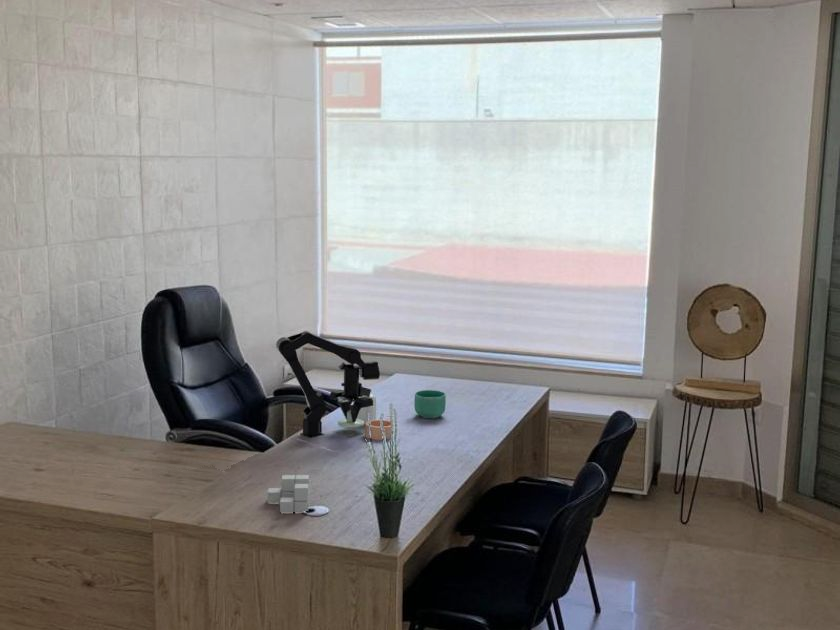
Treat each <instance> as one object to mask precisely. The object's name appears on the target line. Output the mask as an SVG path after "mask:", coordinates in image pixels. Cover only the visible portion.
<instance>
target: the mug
mask: <svg viewBox="0 0 840 630" xmlns="http://www.w3.org/2000/svg"><path fill="white" fill-rule="evenodd" d="M446 401H447V397H446V393H445V391H440V390H436V389H435V390H432V389H423V390H418V391H415V393H414V400H413V402H414V405H413V406H414V411H415V412H416V414H417V415H418V416H420V417H421V418H424V419H429V420H430V419H432V420H433V419H437V418H439V417H440V416H442V415H443V414H444V413H445V411H446V403H447V402H446Z"/></svg>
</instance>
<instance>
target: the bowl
mask: <svg viewBox="0 0 840 630" xmlns="http://www.w3.org/2000/svg"><path fill="white" fill-rule="evenodd" d="M381 420H382V422H383V427H384V429H385V435H386V438H387V440H390V439H389V438H390V431H391V422H390V421H391V420H389V419H381ZM396 425H397V424H396V423H395V429H397V428H396V427H397V426H396ZM364 431H365V433H364V436H365V437H366V438H367V439H370V435H369V421H367V422H366V423H365V424H364ZM370 431H371V438H372V439H371V440H379V441H383V440H382V436H383V434H382V430H381V427H380V419H376V420H371V427H370Z"/></svg>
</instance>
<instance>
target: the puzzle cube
mask: <svg viewBox="0 0 840 630" xmlns="http://www.w3.org/2000/svg"><path fill="white" fill-rule="evenodd" d="M309 484H310V475H309V474H296V475H295V474H283V475H281V486H280V487H277V488H276V487H274V488H273V487H269V488H268V489H267V504H268V503H269V502H271V503H276V502H278V503H280V504H279V513H280V512H303V511H308V512H309V504H310V503H309V502H310V500H309V499H310V497H309V496H310V494H309V493H310V490H309V489H310V485H309Z"/></svg>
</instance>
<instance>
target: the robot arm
mask: <svg viewBox="0 0 840 630" xmlns="http://www.w3.org/2000/svg"><path fill="white" fill-rule="evenodd" d="M307 344H309V345H311V346H314V347H317V348H318V349H322V350H324V351H326V352H328V353H332V354H335V355H336V356H338V357H339V358H341V360H344V361H345V362H347V363H348V364H347V363H345V362H342V363H341V364H340V365H339V366H338V369H339V370H340V371H342V370H343V382H341V384H340V385H341V386H342V387H343V390H342V389H338V390H333V391H331V392H330V394H329V400H332V401H336V400H337V399H338V400H337V401H336V403H337V404H338V407H340V410H341V411H342V414H343V416H344V419H346V420H347V411H350V412H351V417H352V421H353V422H356V419H357V416H358V414H359V411H360V409H361V408H364V407H369V406H373V399H372V398H369V396H370V393H371V392H372V389H370V388H368V387H365V386H363V384H362V382H360V378H362V379H363V381H367V380H368V381H369V380H371V381H373V380H379V379H380V378H381V377H380V367H379V361H377V360H374V361H364V360H363V359H362V358H361V357H362V355H361V352H360V351H359V350H358V349H357V348H356V347H354V346H353V345H352V346H351V345H348V344H347V345H346V344H339V343H336V342H334V341H331V340H330V339H326V338H323V337H322V336H318V335H317V334H314V333H311V332H310V331H308V330H304V331H302V332H300V333H296V334H292V335H290V336H286V337H285V336H284V337H280V338H278V340H277V341H276V344H275V347H276V349H277V351H278V352H279V353H280V355H281V356H282V357H283V358H284V360H285V361H286V362H287V363H288V365H289V368H290V369H291V372H292V373H293V374H294V376H295V378H296V381H297V382H298V384H299V386H300V388H301V390H302V392H303V394H304V396H305V402H306V405H307V406H306V407H305V408H304V409H303V410H302V412H301V413H302V415H303V417H304V419H302V432H300V433H299V435H300V436H304V437H307V438H311V439H312V438H315V437H320V436H324V435H325V434H324V433H323V432H322V431H323V429H322V428H323V427H322V424H323V423H322V417H323V416H324V415H325V414H326V412H327V406H326V405H327V404H328V403H327V402H326V401H325V399H324V396H323V394H322V393H321V392H320V391H318V392H316V391H315V389H314V387H313V386H312V383H311V382H310V379H309V378H308V376H307V374H306V371H305V370H304V369H303V366H302V364H301V363H300V361H299V358H298V353H297V350H298V349H300V348H303V347H304V346H305V345H307ZM371 394H372V393H371ZM363 396H367V397H363ZM359 397H361V398H359ZM352 403H353V404H352Z"/></svg>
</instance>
